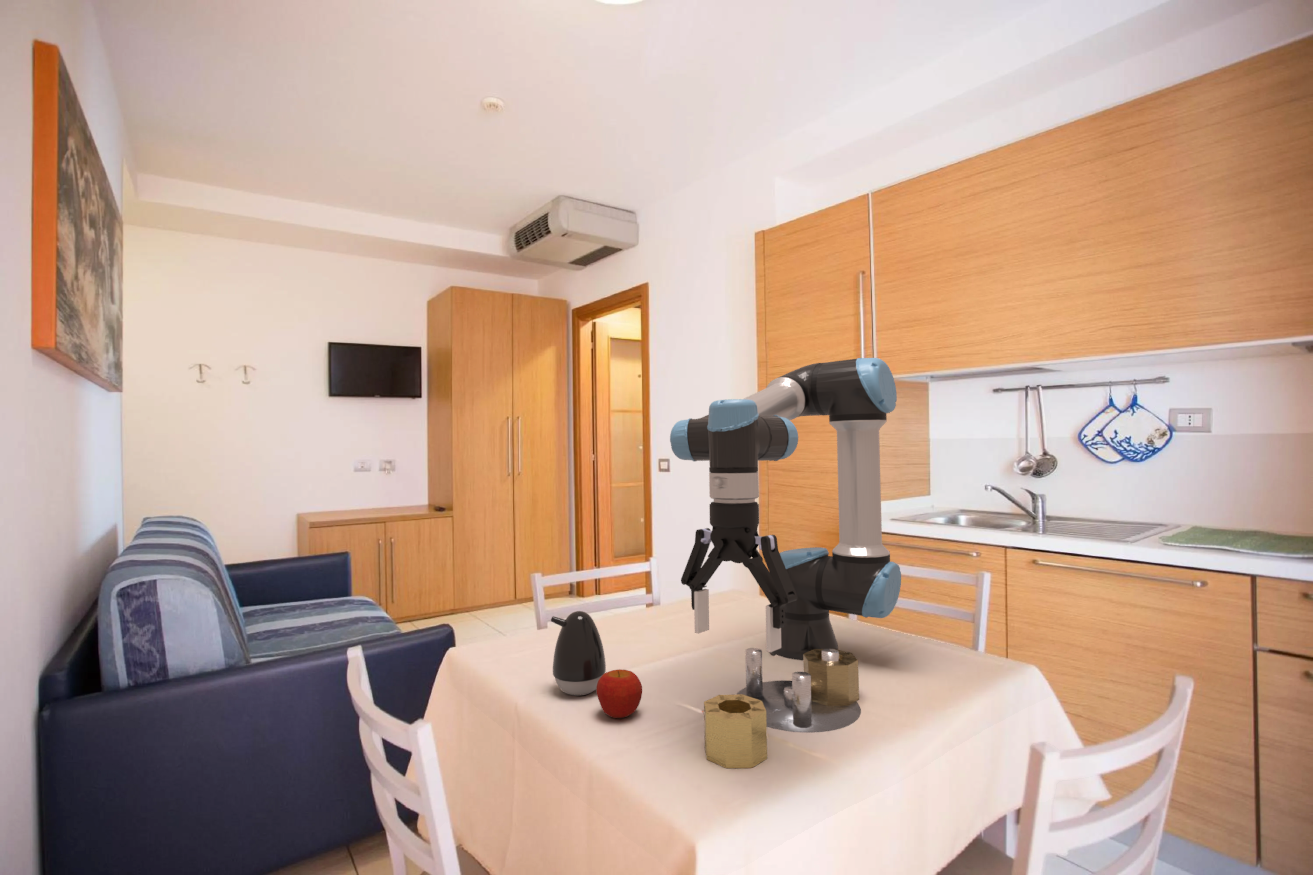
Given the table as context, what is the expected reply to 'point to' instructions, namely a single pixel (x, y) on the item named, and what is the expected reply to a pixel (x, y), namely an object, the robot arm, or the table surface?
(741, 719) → the gear
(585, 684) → the pump dispenser
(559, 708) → the table surface
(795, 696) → the carrier
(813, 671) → the seated gear
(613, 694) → the apple
